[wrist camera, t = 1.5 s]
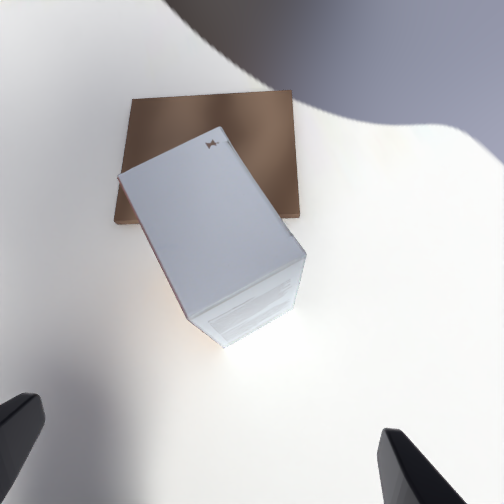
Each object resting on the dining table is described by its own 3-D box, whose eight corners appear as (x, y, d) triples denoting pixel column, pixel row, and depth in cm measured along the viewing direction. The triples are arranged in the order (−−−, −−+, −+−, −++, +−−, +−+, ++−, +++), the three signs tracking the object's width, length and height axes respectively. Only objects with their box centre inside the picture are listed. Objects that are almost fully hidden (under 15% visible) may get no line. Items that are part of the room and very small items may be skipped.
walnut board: (117, 224, 27) (113, 220, 27) (134, 104, 32) (132, 99, 31) (299, 217, 26) (299, 213, 26) (291, 95, 31) (291, 90, 30)
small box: (173, 254, 26) (111, 171, 16) (240, 219, 27) (219, 119, 17) (223, 352, 23) (184, 323, 13) (296, 310, 24) (309, 253, 14)
